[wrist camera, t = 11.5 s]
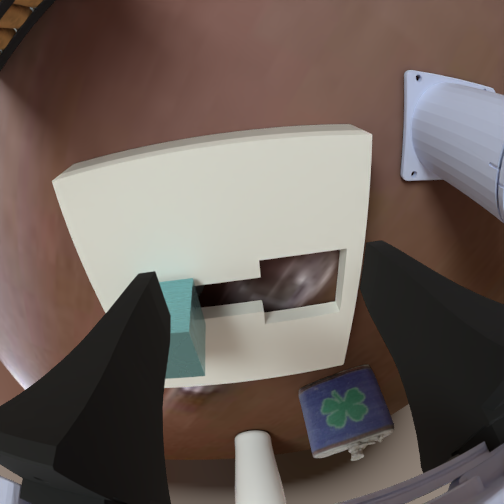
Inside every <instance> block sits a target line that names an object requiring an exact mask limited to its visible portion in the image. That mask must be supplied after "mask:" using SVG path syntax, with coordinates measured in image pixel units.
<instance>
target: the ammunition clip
mask: <svg viewBox="0 0 504 504" xmlns="http://www.w3.org/2000/svg"><path fill="white" fill-rule="evenodd" d="M54 1H55V0H0V71H1V69H2V68H3V66H4V65H5V63H6V62H7V60H8V59H9V57H10V56H11V54H12V53H13V52H14V50H15V49H16V47H17V46H18V45H19V43H20V42H21V41H22V39H23V38H24V37H25V35H26V34H27V33H28V32H29V30H30V29H31V28H32V27H33V25H34V24H35V23H36V22H37V21H38V19H39V18H40V17H41V16H42V15H43V14H44V12H45V11H46V10H47V9H48V8H49V7H50V6H51V5H52V4H53V2H54Z"/></svg>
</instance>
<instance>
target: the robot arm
mask: <svg viewBox="0 0 504 504" xmlns="http://www.w3.org/2000/svg"><path fill="white" fill-rule="evenodd" d="M417 75H418V77H419V79H418V81H417V80H416V76H417ZM413 171H414V174H413V175H412V176H411V174H412V172H413ZM401 177H402V178H403V179H404V180H405V181H417V180H445V181H446V182H448V183H449V184H451V185H452V186H454V187H455V188H457V189H458V190H460V191H461V192H463V193H464V194H465V195H467V196H468V197H470V198H471V199H472V200H474V201H475V202H477V203H478V204H479V205H481V206H482V207H483V208H485V209H486V210H487V211H489V212H490V213H491V214H493V215H494V216H495V217H496V218H498V219H499V220H500V221H501V222H503V223H504V95H501V94H497V93H495V91H494V89H493V88H490V87H487V86H483V85H480V84H476V83H472V82H468V81H464V80H460V79H456V78H451V77H446V76H442V75H437V74H431V73H426V72H420V71H414V70H407V71H406V72H405V74H404V130H403V149H402V162H401ZM360 290H361V293H362V296H363V298H364V301H365V304H366V306H367V309H368V311H369V313H370V315H371V317H372V319H373V321H374V323H375V325H376V327H377V329H378V330H379V332H380V334H381V336H382V338H383V340H384V342H385V344H386V346H387V348H388V349H389V351H390V353H391V355H392V357H393V359H394V362H395V364H396V366H397V368H398V371H399V374H400V377H401V379H402V382H403V385H404V388H405V391H406V395H407V398H408V402H409V405H410V409H411V412H412V417H413V421H414V425H415V430H416V434H417V440H418V447H419V453H420V461H421V468H422V471H423V474H421V475H418V476H416V477H414V478H411V479H409V480H406V481H404V482H401V483H399V484H396V485H394V486H391V487H388V488H385V489H382V490H379V491H377V492H374V493H370V494H368V495H364V496H361V497H358V498H354V499H351V500H347V501H343V502H340V503H336V504H405V503H407V502H410V501H412V500H415V499H416V498H419V497H421V496H424V495H426V494H428V493H430V492H432V491H434V490H436V489H438V488H440V487H442V486H444V485H446V484H448V483H450V482H451V484H450V486H449V490H448V491H447V492H446V493H444V494H442V495H440V496H438V497H436V498H435V499H432V500H430V501H428V502H426V503H424V504H504V304H501V303H498V302H496V301H493V300H491V299H488V298H486V297H484V296H481V295H479V294H477V293H475V292H473V291H471V290H468V289H466V288H464V287H462V286H460V285H458V284H456V283H455V282H453V281H451V280H449V279H447V278H446V277H444V276H442V275H440V274H438V273H437V272H435V271H433V270H432V269H430V268H428V267H427V266H425V265H423V264H422V263H420V262H418V261H417V260H415V259H413V258H412V257H410V256H409V255H407V254H405V253H404V252H402V251H400V250H399V249H397V248H395V247H393V246H392V245H390V244H388V243H386V242H384V241H375V242H367V243H366V249H365V257H364V264H363V271H362V278H361V284H360ZM170 333H171V315H170V312H169V309H168V307H167V304H166V301H165V298H164V295H163V292H162V290H161V287H160V284H159V281H158V278H157V275H156V272H155V271H153V272H146V273H139V274H138V275H137V276H136V277H135V278H134V279H133V280H132V282H131V283H130V284H129V285H128V287H127V288H126V289H125V290H124V292H123V293H122V294H121V295H120V297H119V298H118V299H117V300H116V301H115V303H114V304H113V305H112V306H111V308H110V309H109V310H108V311H107V313H106V314H105V315H104V316H103V317H102V319H101V320H100V321H99V322H98V323H97V324H96V325H95V327H94V328H93V329H92V330H91V331H90V332H89V334H88V335H87V336H86V337H85V338H84V339H83V340H82V341H81V342H80V343H79V344H78V345H77V346H76V347H75V348H74V349H73V350H72V351H71V352H70V353H69V354H68V355H67V356H66V357H65V358H64V359H63V360H62V361H61V362H59V363H58V364H57V365H56V366H55V367H54V368H53V369H51V370H50V371H49V372H48V373H47V374H46V375H45V376H43V377H42V378H41V379H40V380H38V381H37V382H36V383H34V384H33V385H32V386H30V387H29V388H28V389H26V390H25V391H23V392H22V393H21V394H19V395H17V396H16V397H15V398H13V399H11V400H10V401H8V402H6V403H5V404H3V405H1V406H0V464H1V465H2V466H4V467H6V468H7V469H9V470H10V471H12V472H13V473H15V474H17V475H19V476H20V477H22V478H23V481H22V485H21V484H18V483H16V482H14V481H12V480H9V479H7V478H4V477H2V476H0V504H171V502H170V496H169V490H168V484H167V477H166V468H165V458H164V443H163V412H162V407H163V393H164V385H165V377H166V370H167V362H168V355H169V347H170Z"/></svg>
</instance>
